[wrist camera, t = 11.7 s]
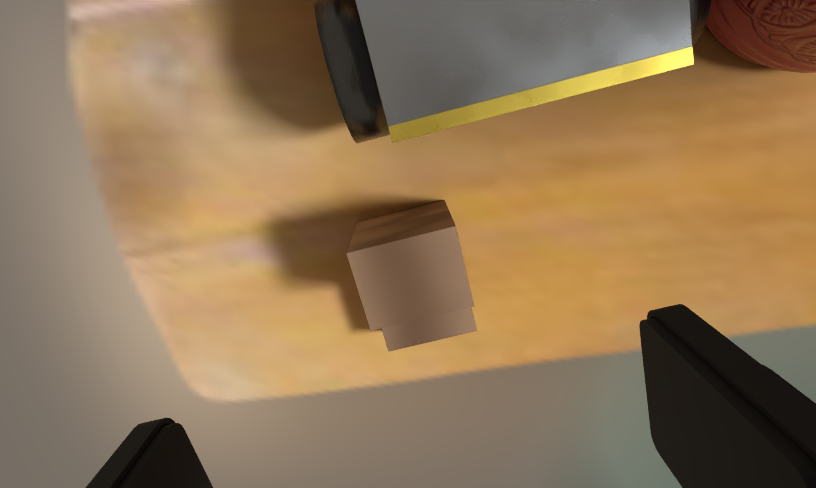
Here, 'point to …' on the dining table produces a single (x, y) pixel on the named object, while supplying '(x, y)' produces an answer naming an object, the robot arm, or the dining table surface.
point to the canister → (767, 31)
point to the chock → (412, 276)
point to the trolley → (490, 55)
